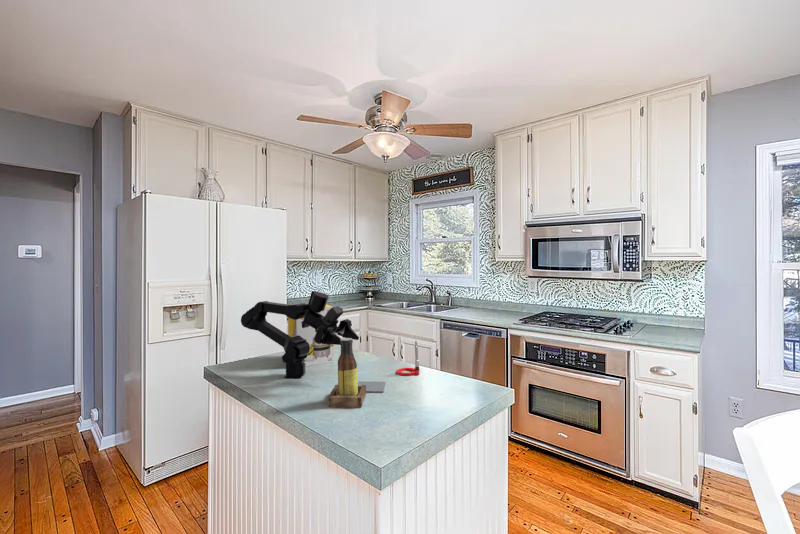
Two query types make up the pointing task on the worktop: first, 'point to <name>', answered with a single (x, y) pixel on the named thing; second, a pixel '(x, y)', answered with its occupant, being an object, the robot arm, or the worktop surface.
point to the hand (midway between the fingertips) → (352, 341)
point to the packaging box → (312, 341)
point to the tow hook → (415, 370)
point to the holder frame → (346, 398)
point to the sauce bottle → (347, 370)
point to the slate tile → (373, 386)
